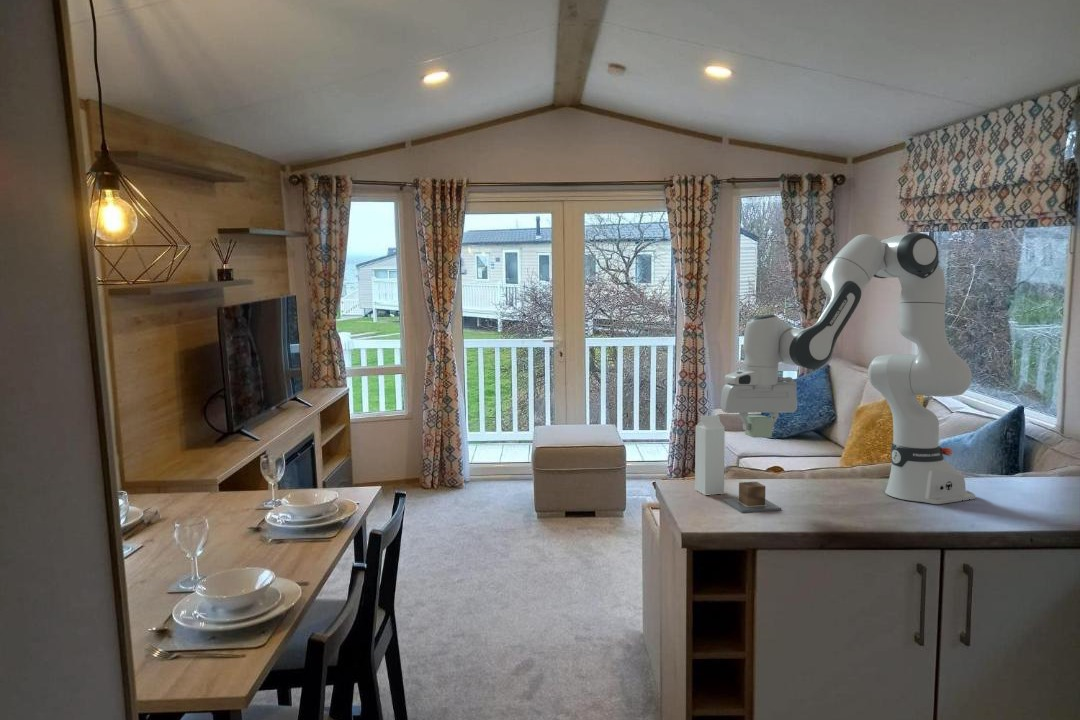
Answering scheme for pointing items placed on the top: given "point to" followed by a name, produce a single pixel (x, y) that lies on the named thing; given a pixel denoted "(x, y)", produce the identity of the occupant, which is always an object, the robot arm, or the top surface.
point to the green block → (759, 426)
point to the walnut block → (751, 493)
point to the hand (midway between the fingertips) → (758, 429)
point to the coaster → (743, 508)
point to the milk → (709, 455)
